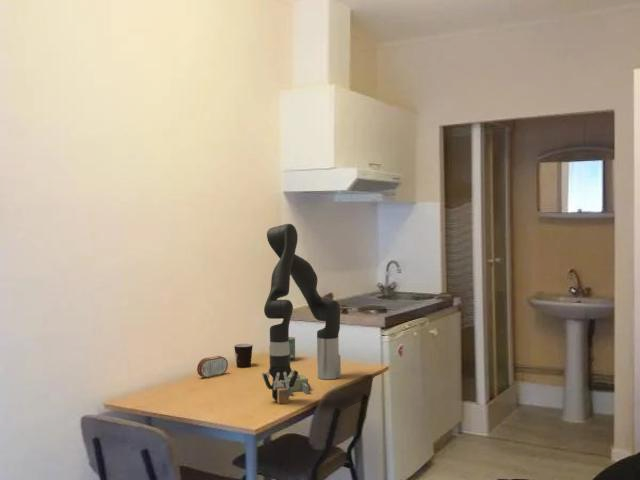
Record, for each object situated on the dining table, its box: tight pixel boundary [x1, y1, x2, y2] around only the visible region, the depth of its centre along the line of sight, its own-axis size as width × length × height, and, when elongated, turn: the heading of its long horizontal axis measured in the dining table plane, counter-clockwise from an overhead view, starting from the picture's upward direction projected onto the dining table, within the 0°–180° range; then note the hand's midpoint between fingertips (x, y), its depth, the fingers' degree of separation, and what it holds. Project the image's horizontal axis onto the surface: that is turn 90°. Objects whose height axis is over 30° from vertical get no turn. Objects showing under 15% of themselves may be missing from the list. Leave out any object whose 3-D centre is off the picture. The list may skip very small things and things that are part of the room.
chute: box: [275, 383, 290, 405], centre depth 251 cm, size 4×10×5 cm, turn 18°
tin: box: [196, 355, 229, 379], centre depth 295 cm, size 15×3×8 cm, turn 134°
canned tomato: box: [289, 336, 296, 363], centre depth 326 cm, size 8×8×11 cm
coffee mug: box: [233, 343, 253, 369], centre depth 316 cm, size 12×9×10 cm
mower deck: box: [278, 373, 311, 397], centre depth 267 cm, size 12×15×6 cm
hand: (280, 398), depth 251 cm, fingers closed on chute, 3 cm apart
